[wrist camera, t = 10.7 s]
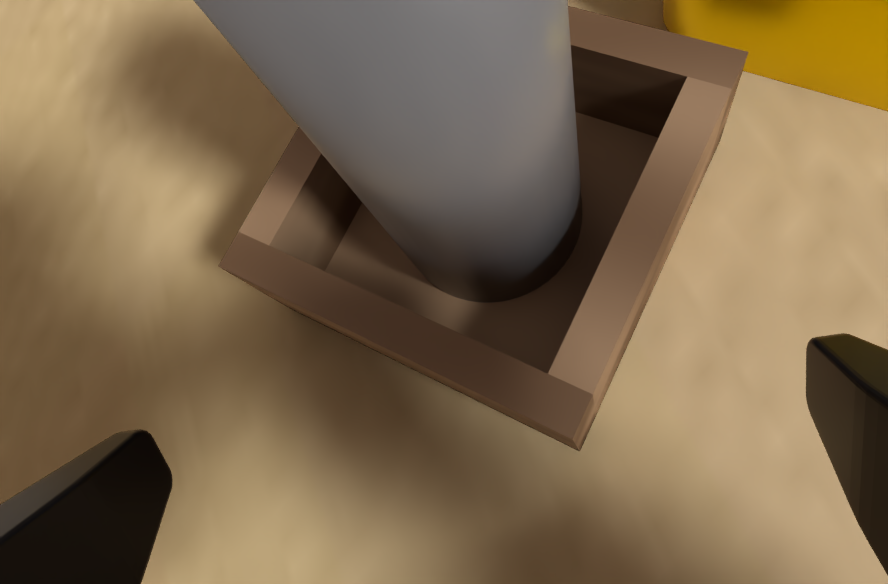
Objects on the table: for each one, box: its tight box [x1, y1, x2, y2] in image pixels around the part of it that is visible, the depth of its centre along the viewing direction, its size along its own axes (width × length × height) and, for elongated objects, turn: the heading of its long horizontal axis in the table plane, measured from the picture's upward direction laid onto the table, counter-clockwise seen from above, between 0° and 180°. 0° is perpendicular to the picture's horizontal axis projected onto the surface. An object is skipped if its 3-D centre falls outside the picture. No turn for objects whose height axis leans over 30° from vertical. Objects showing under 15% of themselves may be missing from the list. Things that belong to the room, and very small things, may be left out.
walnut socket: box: [219, 6, 748, 451], centre depth 17 cm, size 10×10×4 cm
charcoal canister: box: [194, 0, 582, 303], centre depth 12 cm, size 5×5×12 cm
